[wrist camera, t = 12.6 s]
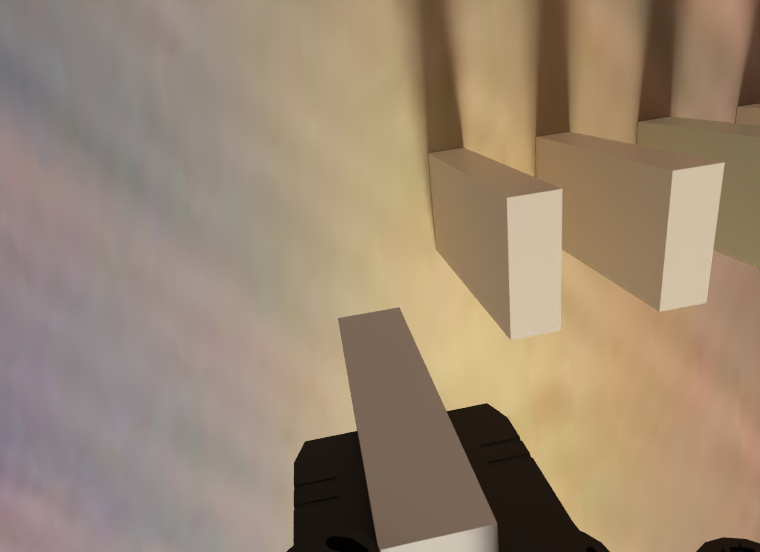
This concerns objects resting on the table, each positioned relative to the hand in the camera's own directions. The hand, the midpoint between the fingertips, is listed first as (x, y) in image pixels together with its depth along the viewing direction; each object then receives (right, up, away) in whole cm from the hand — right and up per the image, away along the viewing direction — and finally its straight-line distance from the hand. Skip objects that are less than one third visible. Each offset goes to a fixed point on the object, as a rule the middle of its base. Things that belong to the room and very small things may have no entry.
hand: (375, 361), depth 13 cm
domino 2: (+9, +7, +14) cm, 18 cm away
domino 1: (+4, +6, +13) cm, 15 cm away
